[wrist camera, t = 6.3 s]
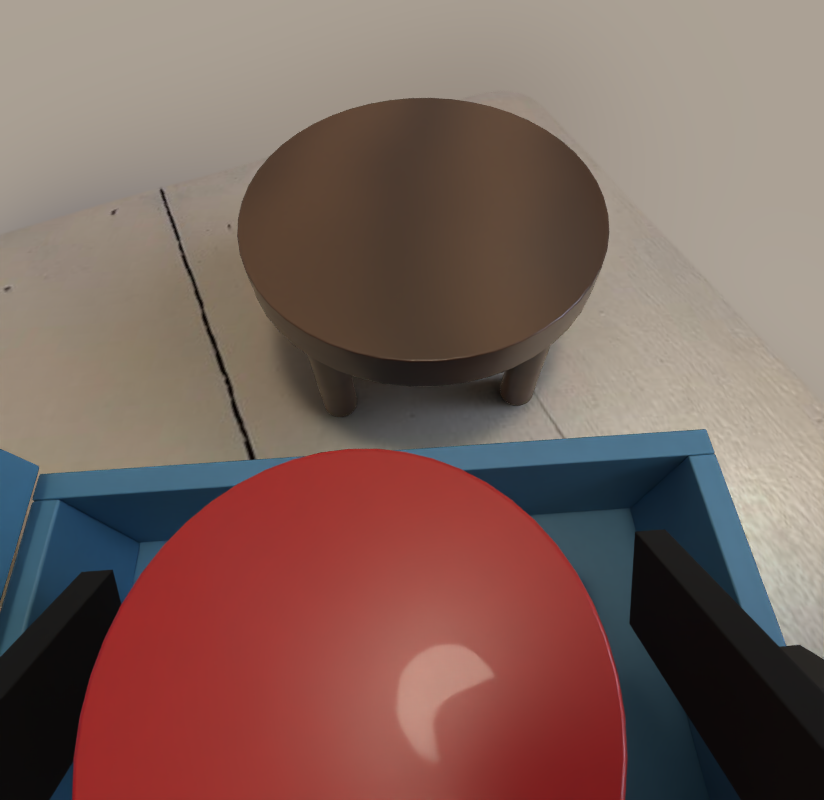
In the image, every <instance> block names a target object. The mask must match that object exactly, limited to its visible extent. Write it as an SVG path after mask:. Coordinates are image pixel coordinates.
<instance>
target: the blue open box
mask: <svg viewBox="0 0 824 800" xmlns="http://www.w3.org/2000/svg"><path fill="white" fill-rule="evenodd" d="M392 451H401V452H408V453H412V454H416V455H420V456H424V457H428V458H433V459H435V460H438V461H441V462H444V463H446V464H449V465H452V466H454V467H457V468H460V469H462V470H464V471H466V472H467V473H469V474H471V475H473V476H475V477H477V478H479V479H481V480H483V481H485V482H487V483H488V484H490V485H491V486H492V487H494V488H495V489H497V490H498V491H500V492H501V493H503V494H504V495H506V496H507V497H509V498H510V499H511V500H513V501H514V502H515V503H516V504H517V505H518V506H519V507H521V508H522V509H523V510H524V511H525V512H526V513H527V514H529V515H530V516H531V517H532V518H533V519H534V520H535V521H536V522H537V523H538V524H539V525H540V526H541V527H542V529H543V530H544V531H545V532H546V533H547V534H548V535H549V536H550V537H551V538H552V540H553V541H554V542H555V543H556V544H557V545H558V547H559V548H560V550H561V551H562V552H563V554H564V555H565V557H566V558H567V559H568V561H569V562H570V564H571V565H572V567H573V568H574V569H575V571H576V572H577V574H578V576H579V578H580V579H581V581H582V583H583V585H584V587H585V589H586V590H587V592H588V594H589V596H590V598H591V599H592V601H593V603H594V605H595V608H596V610H597V613H598V615H599V618H600V620H601V622H602V625H603V627H604V630H605V632H606V635H607V637H608V640H609V644H610V647H611V651H612V654H613V658H614V661H615V665H616V668H617V672H618V675H619V681H620V687H621V693H622V699H623V705H624V711H625V718H626V737H627V755H628V762H627V779H626V796H625V800H741V799H740V797H739V796H738V794H737V793H736V791H735V790H734V788H733V786H732V785H731V783H730V782H729V780H728V779H727V777H726V775H725V774H724V772H723V771H722V769H721V768H720V766H719V764H718V763H717V761H716V760H715V758H714V757H713V755H712V753H711V752H710V750H709V749H708V747H707V745H706V744H705V742H704V741H703V739H702V738H701V736H700V734H699V733H698V731H697V730H696V728H695V727H694V725H693V723H692V722H691V720H690V719H689V717H688V716H687V714H686V712H685V711H684V709H683V708H682V706H681V704H680V703H679V701H678V700H677V698H676V697H675V695H674V693H673V692H672V690H671V689H670V687H669V686H668V684H667V682H666V681H665V679H664V678H663V676H662V675H661V673H660V671H659V670H658V668H657V667H656V665H655V663H654V662H653V660H652V659H651V657H650V656H649V654H648V652H647V651H646V649H645V648H644V646H643V645H642V643H641V641H640V640H639V638H638V637H637V635H636V634H635V632H634V630H633V629H632V627H631V626H630V624H629V621H630V605H631V588H632V572H633V556H634V540H635V532H636V531H649V530H663V529H665V530H666V531H667V532H668V533H669V534H670V535H671V536H672V537H673V538H674V539H675V540H676V541H677V542H678V543H679V544H680V545H681V546H682V547H683V548H684V549H685V550H686V551H687V552H688V553H689V554H690V555H691V557H692V558H693V559H694V560H695V561H696V562H697V563H698V564H699V565H700V566H701V567H702V568H703V569H704V570H705V571H706V572H707V573H708V574H709V575H710V576H711V577H712V578H713V579H714V580H715V581H716V582H717V583H718V584H719V585H720V586H721V587H722V588H723V589H724V590H725V591H726V592H727V593H728V594H729V595H730V597H731V598H732V599H733V600H734V601H735V602H736V603H737V604H738V605H739V606H740V607H741V608H742V609H743V610H744V611H745V612H746V613H747V614H748V615H749V616H750V617H751V618H752V619H753V620H754V621H755V622H756V623H757V624H758V625H759V626H760V627H761V628H762V629H763V630H764V631H765V632H766V633H767V634H768V635H769V637H770V638H771V639H772V640H773V641H774V642H775V643H776V644H777V645H778V646H779V647H781V646H786V644H785V641H784V638H783V636H782V633H781V630H780V627H779V625H778V622H777V619H776V617H775V614H774V611H773V609H772V606H771V603H770V601H769V598H768V595H767V592H766V590H765V587H764V584H763V582H762V579H761V576H760V574H759V571H758V568H757V566H756V563H755V560H754V557H753V555H752V552H751V549H750V547H749V544H748V541H747V539H746V536H745V533H744V531H743V528H742V525H741V522H740V520H739V517H738V514H737V512H736V509H735V506H734V504H733V501H732V498H731V496H730V493H729V490H728V487H727V485H726V482H725V479H724V477H723V474H722V471H721V469H720V466H719V463H718V461H717V458H716V455H715V454H714V450H713V447H712V444H711V441H710V439H709V436H708V433H707V431H706V429H701V430H687V431H672V432H657V433H642V434H628V435H613V436H598V437H583V438H568V439H554V440H539V441H524V442H509V443H494V444H480V445H465V446H450V447H435V448H421V449H406V450H392ZM302 457H305V456H302ZM297 458H301V457H287V458H273V459H258V460H243V461H228V462H214V463H199V464H184V465H169V466H154V467H140V468H125V469H110V470H95V471H81V472H66V473H51V474H40V475H39V478H38V481H37V485H36V488H35V492H34V495H33V500H34V502H33V503H32V505H31V508H30V512H29V515H28V519H27V522H26V526H25V529H24V532H23V536H22V539H21V543H20V546H19V550H18V553H17V557H16V560H15V564H14V567H13V570H12V574H11V577H10V581H9V584H8V588H7V591H6V595H5V598H4V602H3V605H2V608H1V612H0V657H1V656H2V655H3V654H4V652H5V651H6V650H7V649H8V648H9V647H10V646H11V645H12V644H13V643H14V642H15V641H16V640H17V639H18V638H19V637H20V636H21V635H22V634H23V633H24V632H25V631H26V630H27V628H28V627H29V626H30V625H31V624H32V623H33V622H34V621H35V620H36V619H37V618H38V617H39V616H40V615H41V614H42V613H43V612H44V611H45V610H46V609H47V608H48V607H49V606H50V604H51V603H52V602H53V601H54V600H55V599H56V598H57V597H58V596H59V595H60V594H61V593H62V592H63V591H64V590H65V589H66V588H67V587H68V586H69V585H70V584H71V583H72V581H73V580H74V579H75V578H76V577H77V576H78V575H79V574H80V573H81V572H87V571H101V570H113V572H114V576H115V580H116V584H117V588H118V592H119V597H120V601H121V604H122V603H123V601H124V600H125V598H126V596H127V595H128V593H129V592H130V590H131V589H132V587H133V585H134V584H135V582H136V581H137V579H138V578H139V576H140V574H141V573H142V572H143V570H144V569H145V568H146V567H147V565H148V564H149V563H150V562H151V560H152V559H153V558H154V557H155V555H156V554H157V553H158V552H159V550H160V549H161V548H162V546H163V545H164V544H165V543H166V542H167V541H168V540H169V539H170V538H171V537H172V536H173V535H174V534H175V533H176V532H177V531H178V530H179V529H180V528H181V527H182V526H183V525H184V524H185V523H186V522H187V521H188V520H189V519H191V518H192V517H193V516H194V515H195V514H197V513H198V512H199V511H200V510H201V509H203V508H204V507H205V506H206V505H208V504H209V503H210V502H211V501H213V500H214V499H216V498H217V497H219V496H220V495H222V494H223V493H225V492H226V491H228V490H229V489H231V488H232V487H234V486H235V485H237V484H239V483H240V482H242V481H244V480H246V479H248V478H250V477H252V476H254V475H256V474H258V473H260V472H262V471H264V470H266V469H269V468H272V467H274V466H277V465H280V464H282V463H285V462H288V461H290V460H293V459H297ZM72 788H73V763H72V765H71V766H70V768H69V769H68V771H67V773H66V774H65V776H64V777H63V779H62V781H61V782H60V784H59V786H58V787H57V789H56V790H55V792H54V794H53V795H52V797H51V798H50V800H72Z"/></svg>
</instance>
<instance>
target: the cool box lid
mask: <svg viewBox="0 0 824 800" xmlns="http://www.w3.org/2000/svg"><path fill="white" fill-rule="evenodd" d="M38 470H39V466H37V465H35V464H33V463H31V462H28V461H26V460H24V459H22V458H20V457H17V456H15V455H13V454H11V453H9V452H6V451H4V450H2V449H0V600H1V597H2V594H3V590H4V587H5V583H6V580H7V576H8V573H9V570H10V566H11V563H12V559H13V556H14V553H15V549H16V546H17V542H18V539H19V535H20V532H21V529H22V525H23V522H24V518H25V515H26V511H27V508H28V505H29V501H30V498H31V494H32V491H33V488H34V484H35V481H36V477H37V474H38Z"/></svg>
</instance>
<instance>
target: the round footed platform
mask: <svg viewBox="0 0 824 800" xmlns="http://www.w3.org/2000/svg"><path fill="white" fill-rule="evenodd" d="M237 237H238V244H239V251H240V256H241V259H242V262H243V264H244V267H245V270H246V273H247V275H248V278H249V280H250V283H251V285H252V287H253V290H254V292H255V295H256V297H257V299H258V301H259V303H260V305H261V307H262V308H263V310H264V312H265V314H266V315H267V317H268V318H269V319H270V321H271V322H272V323H273V324H274V326H275V327H276V328H277V329H278V331H279V332H280V333H281V334H283V335H284V336H285V337H286V338H287V339H288V340H289V341H290V342H291V343H292V344H293V345H295V346H296V347H297V348H299V349H300V350H302V351H303V352H305V353H306V354H307V355H308V358H309V361H310V364H311V367H312V370H313V373H314V376H315V379H316V382H317V385H318V388H319V391H320V394H321V397H322V400H323V403H324V406H325V409H326V410H327V412H328V413H329V414H331V415H333V416H335V417H344V416H347V415H349V414H351V413H352V412H353V411H354V409H355V408H356V405H357V398H356V394H355V389H354V385H353V380H352V376H355V377H358V378H361V379H366V380H370V381H375V382H379V383H384V384H392V385H402V386H443V385H451V384H459V383H466V382H470V381H474V380H478V379H482V378H486V377H490V376H493V375H495V374H498V373H501V372H503V371H504V374H503V378H502V382H501V386H500V394H501V396H502V398H503V399H504V400H505V401H506V402H507V403H509V404H512V405H523V404H525V403H527V402H528V401H529V400H530V399H531V397H532V394H533V391H534V389H535V386H536V383H537V380H538V378H539V375H540V372H541V369H542V367H543V364H544V361H545V359H546V356H547V353H548V350H549V348H550V345H551V344H553V343H554V342H555V341H556V340H557V339H558V338H559V337H560V336H561V335H562V334H563V333H564V332H565V331H566V330H567V329H569V327H570V326H571V325H572V323H573V322H574V321H575V319H576V318H577V317H578V315H579V314H580V313H581V311H582V309H583V307H584V306H585V304H586V302H587V300H588V298H589V296H590V294H591V292H592V289H593V287H594V284H595V282H596V280H597V277H598V275H599V272H600V270H601V268H602V264H603V261H604V258H605V255H606V252H607V247H608V239H609V220H608V212H607V208H606V204H605V200H604V197H603V194H602V192H601V190H600V188H599V185H598V183H597V181H596V179H595V178H594V176H593V175H592V173H591V172H590V170H589V169H588V167H587V166H586V165H585V164H584V162H583V161H582V160H581V159H580V158H579V157H578V156H577V154H576V153H575V152H574V151H572V150H571V149H570V148H569V147H568V146H567V145H566V144H565V143H563V142H562V141H561V140H560V139H558V138H557V137H555V136H554V135H552V134H551V133H550V132H548V131H547V130H545V129H543V128H541V127H540V126H538V125H536V124H534V123H532V122H530V121H529V120H526V119H524V118H521V117H519V116H517V115H514V114H512V113H509V112H506V111H503V110H500V109H497V108H494V107H491V106H486V105H482V104H477V103H473V102H467V101H460V100H453V99H439V98H409V99H399V100H389V101H383V102H378V103H372V104H367V105H363V106H360V107H356V108H352V109H349V110H346V111H343V112H340V113H338V114H335V115H332V116H330V117H328V118H325V119H323V120H321V121H319V122H317V123H315V124H313V125H311V126H309V127H308V128H306V129H304V130H303V131H301V132H299V133H297V134H296V135H295V136H293V137H292V138H291V139H289V140H288V141H287V142H285V143H284V144H283V145H281V146H280V147H279V148H278V149H277V150H276V151H275V152H274V153H273V154H272V155H271V156H270V157H269V158H268V159H267V160H266V161H265V163H264V164H263V165H262V166H261V167H260V169H259V170H258V171H257V173H256V174H255V176H254V178H253V179H252V181H251V183H250V184H249V186H248V188H247V191H246V193H245V196H244V198H243V201H242V204H241V208H240V213H239V217H238V235H237Z"/></svg>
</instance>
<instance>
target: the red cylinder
mask: <svg viewBox="0 0 824 800" xmlns="http://www.w3.org/2000/svg"><path fill="white" fill-rule="evenodd" d="M627 762H628V755H627V737H626V718H625V711H624V705H623V699H622V693H621V687H620V681H619V675H618V672H617V668H616V665H615V661H614V658H613V654H612V651H611V647H610V644H609V640H608V637H607V635H606V632H605V630H604V627H603V625H602V622H601V620H600V618H599V615H598V613H597V610H596V608H595V605H594V603H593V601H592V599H591V598H590V596H589V594H588V592H587V590H586V589H585V587H584V585H583V583H582V581H581V579H580V578H579V576H578V574H577V572H576V571H575V569H574V568H573V567H572V565H571V564H570V562H569V561H568V559H567V558H566V557H565V555H564V554H563V552H562V551H561V550H560V548H559V547H558V545H557V544H556V543H555V542H554V541H553V540H552V538H551V537H550V536H549V535H548V534H547V533H546V532H545V531H544V530H543V529H542V527H541V526H540V525H539V524H538V523H537V522H536V521H535V520H534V519H533V518H532V517H531V516H530V515H529V514H527V513H526V512H525V511H524V510H523V509H522V508H521V507H519V506H518V505H517V504H516V503H515V502H514V501H513V500H511V499H510V498H509V497H507V496H506V495H504V494H503V493H501V492H500V491H498V490H497V489H495V488H494V487H492V486H491V485H490V484H488V483H487V482H485V481H483V480H481V479H479V478H477V477H475V476H473V475H471V474H469V473H467V472H466V471H464V470H462V469H460V468H457V467H454V466H452V465H449V464H446V463H444V462H441V461H438V460H435V459H433V458H428V457H424V456H420V455H416V454H412V453H408V452H401V451H392V450H384V449H345V450H337V451H329V452H321V453H317V454H313V455H309V456H305V457H301V458H297V459H293V460H290V461H288V462H285V463H282V464H280V465H277V466H274V467H272V468H269V469H266V470H264V471H262V472H260V473H258V474H256V475H254V476H252V477H250V478H248V479H246V480H244V481H242V482H240V483H239V484H237V485H235V486H234V487H232V488H231V489H229V490H228V491H226V492H225V493H223V494H222V495H220V496H219V497H217V498H216V499H214V500H213V501H211V502H210V503H209V504H208V505H206V506H205V507H204V508H203V509H201V510H200V511H199V512H198V513H197V514H195V515H194V516H193V517H192V518H191V519H189V520H188V521H187V522H186V523H185V524H184V525H183V526H182V527H181V528H180V529H179V530H178V531H177V532H176V533H175V534H174V535H173V536H172V537H171V538H170V539H169V540H168V541H167V542H166V543H165V544H164V545H163V546H162V548H161V549H160V550H159V552H158V553H157V554H156V555H155V557H154V558H153V559H152V560H151V562H150V563H149V564H148V565H147V567H146V568H145V569H144V570H143V572H142V573H141V574H140V576H139V578H138V579H137V581H136V582H135V584H134V585H133V587H132V589H131V590H130V592H129V593H128V595H127V596H126V598H125V600H124V601H123V603H122V604H121V606H120V608H119V610H118V612H117V614H116V616H115V618H114V620H113V622H112V624H111V626H110V628H109V630H108V632H107V634H106V636H105V638H104V641H103V643H102V646H101V649H100V651H99V654H98V657H97V659H96V662H95V665H94V667H93V670H92V673H91V675H90V679H89V683H88V686H87V690H86V694H85V698H84V702H83V706H82V710H81V713H80V718H79V725H78V732H77V738H76V745H75V752H74V759H73V788H72V800H625V796H626V779H627Z"/></svg>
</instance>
